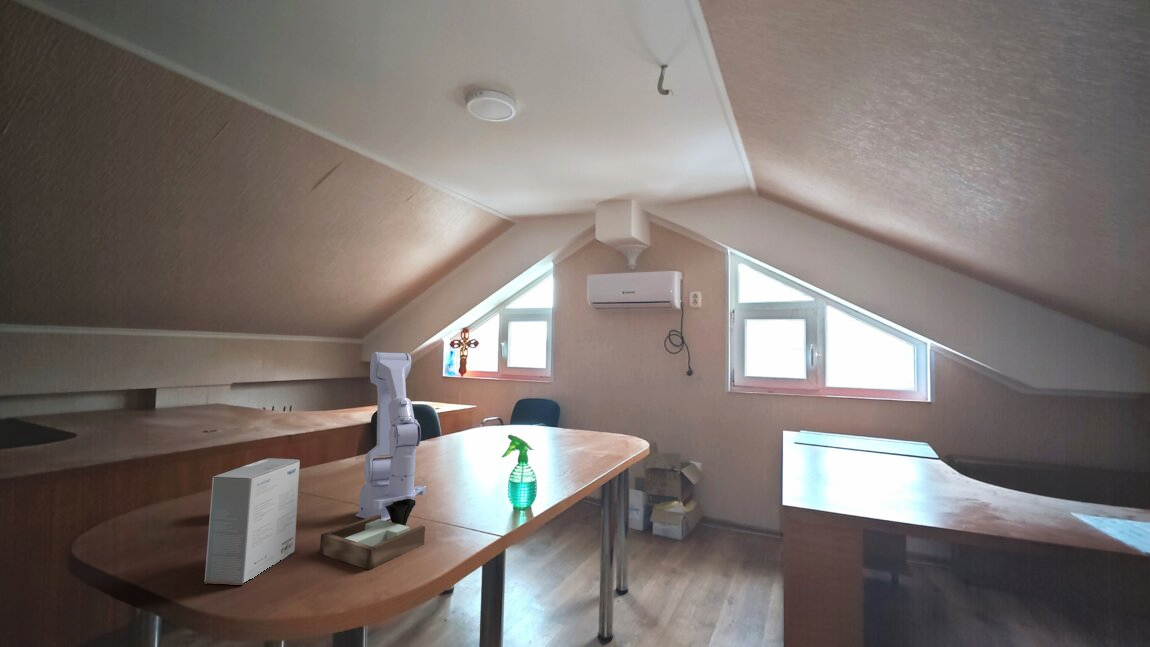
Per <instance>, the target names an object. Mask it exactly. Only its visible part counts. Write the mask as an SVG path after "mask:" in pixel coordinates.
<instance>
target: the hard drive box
mask: <svg viewBox="0 0 1150 647" xmlns="http://www.w3.org/2000/svg"><path fill="white" fill-rule="evenodd" d="M300 462H301V461H300V459H293V458H273V457H271V458H265V459H261V460H258V461H255V462H252V463H249V464H246V465H244V466H241V467H238V468H237V467H236V468H234V469H232V470H229V471H226V472H222V473H220V474H217V475H215V476H212V481H211V482H212V483H211V495H210V509H209V519H208V520H209V521H208V535H207V544H206V545H207V547H206V555H205V556H206V557H205V558H206V559H205V573H204V582H205V581H211V582H222V583H225V582H233V583H244V582H246V581H248V580H249V579H252V578H253V579H255V578H256V577H255V576H257V575H258V574H259V575H260V573H261V572H262V573H264V572H265V571H267V570H268V569H270V568H271V567H273V566H275V565H276V564H277V563H279V562H281V561H282V560H284V559H286V558H287V557H288V556H289V555H292V554H293V553H294V552H295V547H296V534H297V533H296V530H297V515H298V514H297V513H298V497H299V480H300V479H299V478H300V464H301V463H300ZM280 560H281V561H280ZM272 565H273V566H272ZM269 567H270V568H269ZM267 568H268V569H267ZM266 569H267V570H266ZM264 570H265V571H264ZM263 571H264V572H263ZM262 573H261V574H262ZM259 575H258V576H259ZM258 576H257V577H258ZM254 577H255V578H254ZM253 579H252V580H253ZM248 582H249V581H248Z"/></svg>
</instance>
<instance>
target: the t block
mask: <svg viewBox="0 0 1150 647" xmlns="http://www.w3.org/2000/svg"><path fill="white" fill-rule="evenodd" d="M409 530H411V526H407V525H406V526H404V525H400V524H396V523H392V522H391V521H389V520H386V521H385V520H381V519H378V520H376V521H373V522H370V523H367V524H365V530H364V531H362V532H359V533H356V534H354V535H351V536H349V537H346V538H345V539H349V540H352V541H355V542H359V543H362V544H365V545H369V546H374V545H376V544H379V543H381V542H383V541H386V540H388V539H390V538H393V537H395V536H398V535H400V534H402V533H405V532H407V531H409Z"/></svg>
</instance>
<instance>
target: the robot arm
mask: <svg viewBox="0 0 1150 647" xmlns="http://www.w3.org/2000/svg"><path fill="white" fill-rule="evenodd" d="M369 366H370V367H369V370H370V371H369V379H370V383H371V384H373V385H375V386H376V392H377V409H376V410H377V411H376V413H377V414H376V417H377V418H376V423H377V424H376V445H375V446H374V447H373V448H371V450H369V451H368V452H367V453H366V455H365V459H364V465H363V478H364V481H365V482H364V484H362V486H361V489H360V492H359V500H358V502H359V504H358V513H356V514H355V517H357V518H361V519H363V520H364V519H366V518H369V517H372V516H375V515H381V520H385V521H389V520H390V522H392V523H396V524H400V525H404V526H407V523H408V519H409V517H410V515H411V513H412V511H413V509H414V507H416V500H415V498H416V497H417V496H419V495H421V496H423V495H426V493H427V492H426V489H427V486H424V485H421V484H420V485H416V486H415V475H416V474H415V473H416V458H417V447H419V445H420V443H421V439H422V432H421V431H422V430H421V425H420V423H419V422H418V419H415V413H414V410H413V409H414V408H413V403H412V400H411V399H410V398H408V397H407V389H406V386H407V385H406V379H407V378H408V376H409V373H410V371H411V368H412V356H411V354H409V352H404V353H402V352H400V353H399V352H379V351H374V352H373V353H372V354H371V357H370V365H369ZM384 456H385V457H384ZM386 456H387V457H386Z"/></svg>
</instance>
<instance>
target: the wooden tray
mask: <svg viewBox="0 0 1150 647" xmlns="http://www.w3.org/2000/svg"><path fill="white" fill-rule="evenodd" d="M378 519H381V515H375V516H372V517H369V518H366V519H364V518H363V519H362V520H358V521H356V522H353V523H350V524H348V525H344V526H342V527H338V528H336V529H335V528H334V529H333V530H331V531H327V532H324V533H322V534H320V541H319V554H320V555H324V556H325V557H329V558H332V559H336V560H338V561H340V562H341V561H342V562H345V563H348V564H350V565H353V566H357V567H359V568H362V569H365V570H369V571H371V570H373V569H375V568H377V567H379V566H382V565H383V564H385V563H388V562H390V561H392V560H394V559H396V558H398V557H400V556H402V555H404V554H407V553H408V552H411V551H413V550H415V549H417V548H419V547H422V546H423V545H425V534H426V526H425V525H419V526H416V527H415V528H412V529H410V530H409V531H407V532H405V533H402V534H400V535H398V536H395V537H393V538H390V539H388V540H386V541H383V542H381V543H379V544H376V545H374V546H369V545H365V544H362V543H359V542H355V541H352V540H349V539H345V538H346V537H349V536H351V535H354V534H356V533H359V532H362V531H364V530H365V524H367V523H370V522H373V521H376V520H378Z"/></svg>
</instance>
